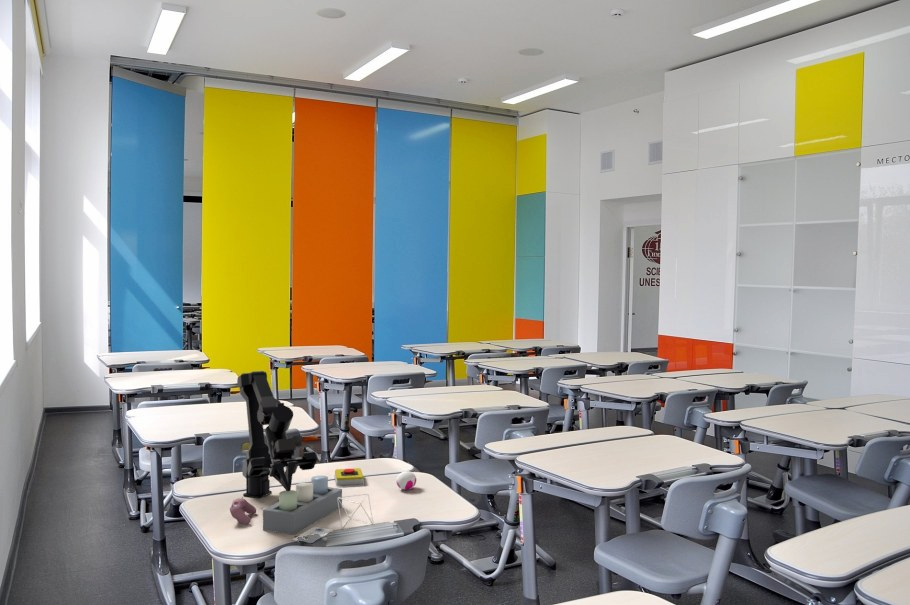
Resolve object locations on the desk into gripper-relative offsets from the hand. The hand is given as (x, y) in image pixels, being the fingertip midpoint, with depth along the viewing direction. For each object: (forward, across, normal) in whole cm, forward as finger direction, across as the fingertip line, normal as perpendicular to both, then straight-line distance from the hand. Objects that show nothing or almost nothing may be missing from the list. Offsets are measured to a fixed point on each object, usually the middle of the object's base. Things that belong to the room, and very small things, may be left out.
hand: (288, 490), depth 190 cm
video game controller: (-2, -9, +17) cm, 19 cm away
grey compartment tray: (+3, +6, +11) cm, 13 cm away
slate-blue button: (-3, +12, +12) cm, 18 cm away
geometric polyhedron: (+12, +17, +3) cm, 21 cm away
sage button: (+4, 0, +5) cm, 6 cm away
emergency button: (-17, +31, +33) cm, 49 cm away
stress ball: (-4, +44, +19) cm, 49 cm away
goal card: (+14, +4, +1) cm, 14 cm away
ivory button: (0, +6, +8) cm, 10 cm away
